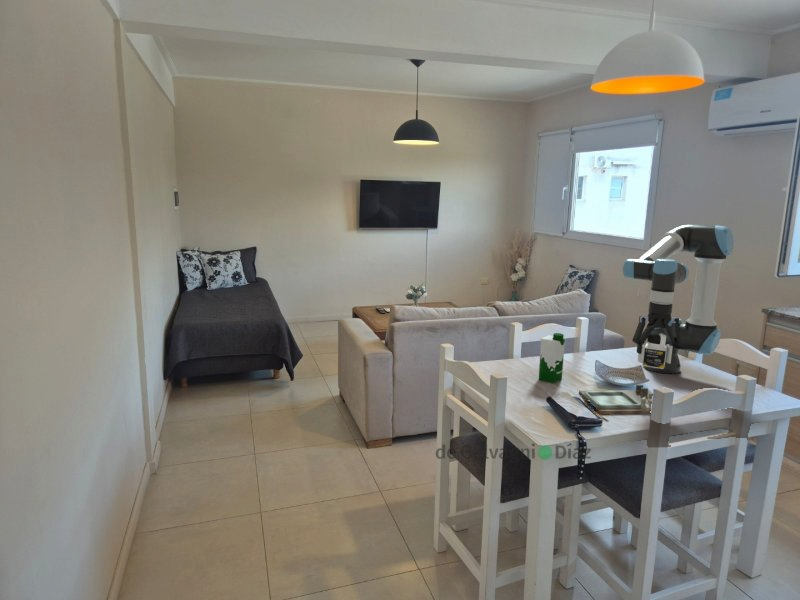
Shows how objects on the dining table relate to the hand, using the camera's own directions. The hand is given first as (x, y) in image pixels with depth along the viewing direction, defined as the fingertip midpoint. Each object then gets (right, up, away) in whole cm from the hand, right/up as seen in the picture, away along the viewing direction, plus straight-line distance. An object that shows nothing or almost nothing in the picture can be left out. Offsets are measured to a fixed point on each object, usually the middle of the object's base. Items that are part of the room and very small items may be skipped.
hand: (653, 362), depth 198 cm
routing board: (-9, -16, +4) cm, 18 cm away
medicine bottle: (0, -1, 0) cm, 1 cm away
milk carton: (-30, -11, +28) cm, 43 cm away
